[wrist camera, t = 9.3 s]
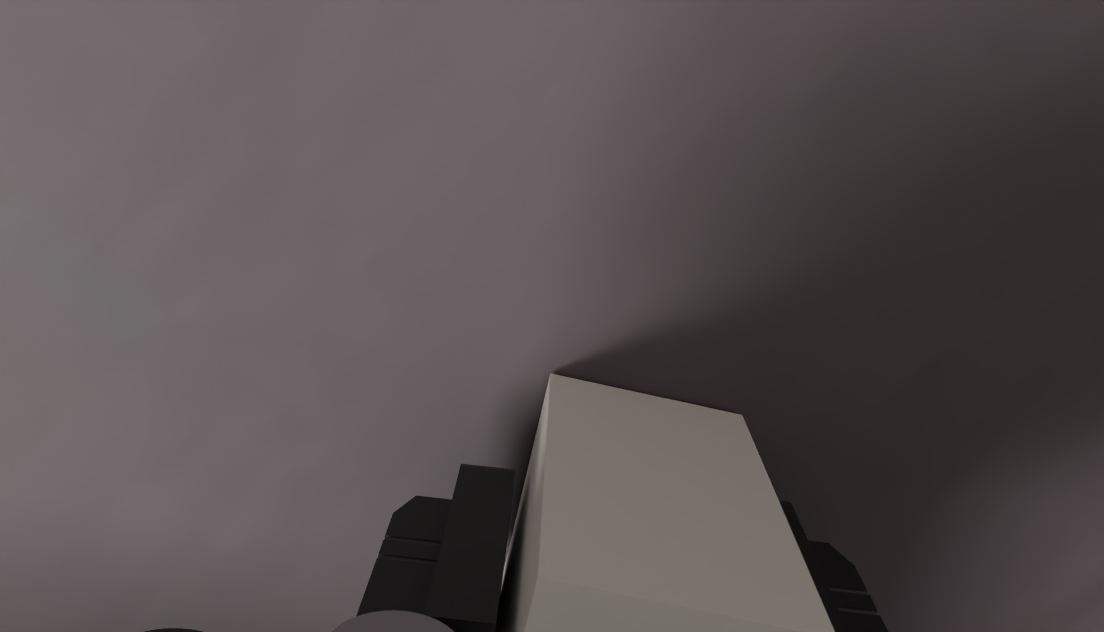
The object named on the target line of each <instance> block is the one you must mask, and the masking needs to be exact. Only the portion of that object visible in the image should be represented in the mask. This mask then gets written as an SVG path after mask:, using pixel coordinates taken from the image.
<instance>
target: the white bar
mask: <svg viewBox="0 0 1104 632" xmlns="http://www.w3.org/2000/svg"><path fill="white" fill-rule="evenodd" d="M496 632H835V631H834V629H833V626H832V624H831V622H830V619H829V617H828V615H827V612H826V610H825V608H824V605H823V603H822V601H821V598H820V596H819V594H818V591H817V589H816V587H815V584H814V582H813V580H812V577H811V575H810V573H809V570H808V568H807V566H806V563H805V561H804V559H803V556H802V554H801V551H800V549H799V547H798V544H797V542H796V540H795V537H794V535H793V533H792V530H791V528H790V526H789V523H788V521H787V519H786V516H785V514H784V512H783V509H782V507H781V505H780V502H779V500H778V498H777V495H776V493H775V491H774V488H773V486H772V484H771V481H770V479H769V477H768V474H767V472H766V470H765V467H764V465H763V463H762V460H761V458H760V456H759V453H758V451H757V449H756V446H755V444H754V442H753V439H752V437H751V434H750V432H749V430H748V427H747V425H746V423H745V420H744V418H743V416H742V415H740V414H735V413H731V412H726V411H722V410H717V409H712V408H708V407H703V406H699V405H694V404H689V403H685V402H680V401H676V400H671V399H666V398H662V397H657V396H653V395H648V394H643V393H639V392H634V391H629V390H625V389H620V388H616V387H611V386H606V385H602V384H597V383H593V382H588V381H583V380H579V379H574V378H570V377H565V376H560V375H556V374H551V373H550V377H549V381H548V385H547V390H546V394H545V398H544V402H543V406H542V411H541V415H540V419H539V423H538V428H537V432H536V436H535V440H534V444H533V449H532V453H531V457H530V461H529V465H528V470H527V474H526V478H525V482H524V487H523V491H522V495H521V499H520V503H519V508H518V512H517V516H516V520H515V525H514V529H513V533H512V537H511V541H510V546H509V550H508V554H507V558H506V562H505V567H504V572H503V580H502V589H501V597H500V605H499V613H498V622H497V630H496Z"/></svg>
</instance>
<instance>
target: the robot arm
mask: <svg viewBox="0 0 1104 632" xmlns="http://www.w3.org/2000/svg"><path fill="white" fill-rule="evenodd" d="M514 476H515V470H512V469H503V468H494V467H486V466H477V465H468V464H461V466H460V470H459V474H458V478H457V482H456V486H455V490H454V494H453V498H452V500H450V499H441V498H432V497H423V496H415V497H414V498H412V499H411V500H410V501H408V502H407V503H406V504H405V505H403V506H402V507H401V508H399V509H398V510H397V511H395V512H394V513H393V515H392V518H391V521H390V523H389V526H388V529H387V532H386V535H385V540H383V543H382V546H381V549H380V551H379V556H378V558H377V560H376V563H375V565H374V568H373V571H372V574H371V577H370V579H369V582H368V585H367V588H366V591H365V593H364V596H363V599H362V602H361V604H360V607H359V610H358V613H357V616H356V617H354V618H352V619H350V620H348V621H346V622H344V623H342V624H341V625H340V626H338V627H337V628H336V629H335V630H334V631H333V632H496V630H497V622H498V613H499V605H500V597H501V589H502V580H503V572H504V563H505V554H506V546H507V537H508V528H509V520H510V511H511V502H512V494H513V485H514ZM779 502H780V505H781V507H782V509H783V512H784V514H785V516H786V519H787V521H788V523H789V526H790V528H791V530H792V533H793V535H794V537H795V540H796V542H797V544H798V547H799V549H800V551H801V554H802V556H803V559H804V561H805V563H806V566H807V568H808V570H809V573H810V575H811V577H812V580H813V582H814V584H815V587H816V589H817V591H818V594H819V596H820V598H821V601H822V603H823V605H824V608H825V610H826V612H827V615H828V617H829V619H830V622H831V624H832V626H833V629H834V631H835V632H888V630H887V629H886V627H885V625H884V623H883V621H882V619H881V617H880V616H879V615H877V609H876V607H875V605H874V603H873V601H872V599H871V597H870V595H867V589H866V587H865V585H864V583H863V582H862V580H861V578H860V576H859V574H858V572H857V570H856V568H855V566H854V565H853V564H852V563H851V562H849V561H848V560H847V559H846V558H845V557H844V556H842V555H841V554H840V553H839V552H838V551H837V550H835V549H834V548H833V547H832V546H831V545H830V544H828V543H823V542H815V541H808V540H807V537H806V535H805V533H804V531H803V529H802V526H801V524H800V522H799V520H798V517H797V515H796V513H795V511H794V508H793V506H792V504H791V503H790V502H788V501H779ZM146 632H201V631H197V630H191V629H181V628H168V629H157V630H151V631H146Z"/></svg>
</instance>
